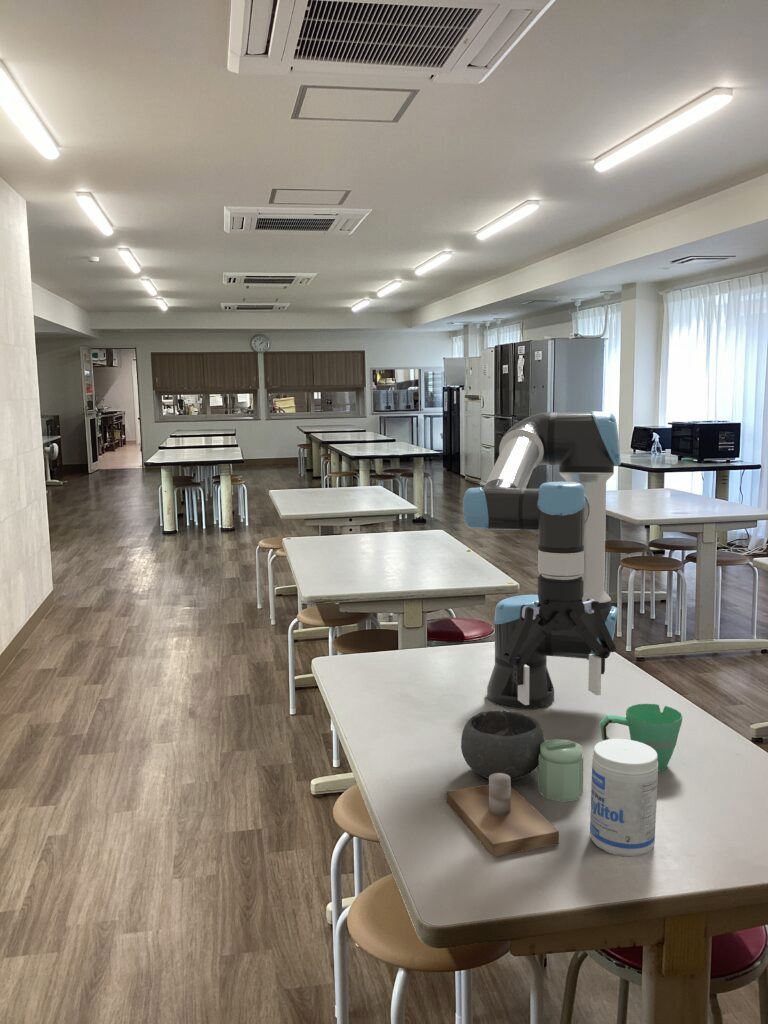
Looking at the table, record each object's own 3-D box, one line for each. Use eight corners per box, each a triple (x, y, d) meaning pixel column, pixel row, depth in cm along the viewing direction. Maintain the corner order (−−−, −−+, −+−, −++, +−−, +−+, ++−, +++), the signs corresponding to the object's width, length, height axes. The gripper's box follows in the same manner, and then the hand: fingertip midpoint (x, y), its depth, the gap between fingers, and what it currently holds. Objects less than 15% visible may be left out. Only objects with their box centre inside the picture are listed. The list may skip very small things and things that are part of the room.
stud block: (505, 792, 143) (505, 751, 142) (558, 843, 126) (559, 797, 125) (446, 802, 140) (446, 760, 139) (492, 856, 123) (492, 809, 122)
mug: (671, 753, 158) (672, 703, 156) (688, 776, 148) (690, 723, 147) (593, 754, 158) (594, 703, 157) (605, 777, 148) (606, 723, 147)
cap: (568, 780, 148) (568, 733, 146) (589, 797, 141) (590, 748, 140) (532, 786, 145) (533, 739, 144) (552, 804, 139) (553, 755, 138)
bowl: (446, 767, 154) (446, 715, 153) (515, 752, 160) (515, 702, 158) (487, 801, 140) (487, 744, 139) (560, 784, 146) (561, 729, 145)
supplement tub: (578, 844, 126) (580, 752, 124) (606, 820, 133) (608, 732, 131) (640, 866, 120) (642, 769, 118) (665, 839, 127) (668, 748, 125)
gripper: (612, 565, 146) (610, 682, 148) (482, 576, 138) (483, 699, 141) (638, 573, 139) (635, 695, 141) (502, 585, 131) (502, 714, 134)
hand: (559, 697), depth 141 cm, fingers open, 13 cm apart
